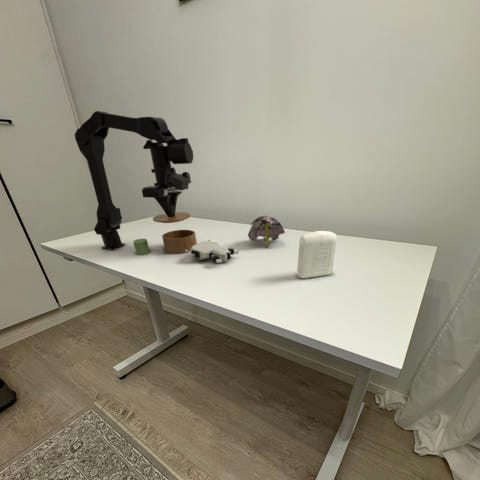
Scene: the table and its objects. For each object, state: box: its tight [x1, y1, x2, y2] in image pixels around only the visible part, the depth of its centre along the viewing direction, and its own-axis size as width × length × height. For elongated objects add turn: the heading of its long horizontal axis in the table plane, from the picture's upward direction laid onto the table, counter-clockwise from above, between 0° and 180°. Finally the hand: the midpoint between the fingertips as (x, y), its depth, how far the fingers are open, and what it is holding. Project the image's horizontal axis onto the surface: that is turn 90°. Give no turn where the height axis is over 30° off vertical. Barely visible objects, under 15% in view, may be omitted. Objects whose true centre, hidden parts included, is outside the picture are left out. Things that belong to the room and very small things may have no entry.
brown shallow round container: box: [161, 229, 198, 255], centre depth 105 cm, size 12×12×5 cm
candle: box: [132, 238, 151, 256], centre depth 104 cm, size 5×5×4 cm
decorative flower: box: [247, 215, 286, 248], centre depth 103 cm, size 14×12×15 cm
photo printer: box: [296, 230, 338, 279], centre depth 77 cm, size 10×4×12 cm, turn 103°
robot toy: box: [185, 239, 239, 264], centre depth 94 cm, size 12×4×15 cm
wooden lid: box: [152, 204, 191, 224], centre depth 97 cm, size 13×13×5 cm
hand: (171, 214), depth 98 cm, fingers closed on wooden lid, 3 cm apart
